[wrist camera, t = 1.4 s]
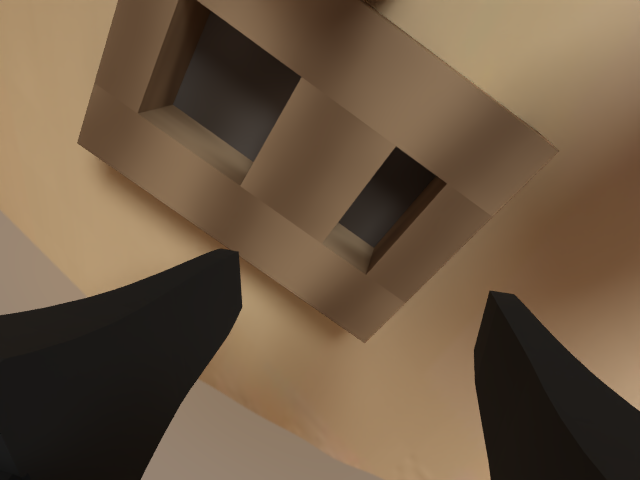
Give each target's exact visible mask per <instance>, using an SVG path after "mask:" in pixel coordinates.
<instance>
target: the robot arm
mask: <svg viewBox="0 0 640 480" xmlns="http://www.w3.org/2000/svg"><path fill="white" fill-rule="evenodd" d="M241 309H242V295H241V279H240V263H239V251H233V250H226V249H217V250H214V251H211V252H209V253H206V254H203V255H201V256H199V257H196V258H194V259H191V260H189V261H187V262H184V263H182V264H180V265H177V266H175V267H173V268H170V269H168V270H166V271H163V272H161V273H158V274H156V275H153V276H150V277H148V278H145V279H143V280H140V281H137V282H135V283H132V284H130V285H127V286H124V287H121V288H118V289H115V290H112V291H109V292H105V293H102V294H98V295H95V296H92V297H88V298H84V299H80V300H76V301H72V302H67V303H63V304H59V305H55V306H51V307H46V308H41V309H35V310H30V311H24V312H19V313H13V314H6V315H0V480H141V478H142V476H143V474H144V472H145V469H146V467H147V465H148V464H149V462H150V460H151V458H152V456H153V454H154V452H155V450H156V448H157V446H158V444H159V442H160V441H161V438H162V437H163V435H164V433H165V431H166V429H167V428H168V426H169V424H170V422H171V420H172V419H173V417H174V415H175V413H176V411H177V409H178V408H179V406H180V404H181V403H182V401H183V400H184V398H185V397H186V395H187V393H188V392H189V390H190V389H191V388H192V386H193V385H194V383H195V382H196V381H197V379H198V378H199V376H200V375H201V373H202V372H203V371H204V369H205V368H206V366H207V365H208V364H209V362H210V361H211V359H212V358H213V356H214V355H215V354H216V352H217V351H218V349H219V348H220V346H221V345H222V343H223V342H224V341H225V339H226V338H227V336H228V335H229V333H230V331H231V329H232V327H233V325H234V323H235V321H236V319H237V317H238V315H239V313H240V311H241ZM474 370H475V386H476V392H477V398H478V404H479V410H480V416H481V422H482V427H483V433H484V439H485V444H486V450H487V456H488V462H489V469H490V477H491V480H640V411H639V410H637V409H636V408H635V407H633V406H632V405H631V404H629V403H628V402H627V401H626V400H624V399H623V398H622V397H621V396H619V395H618V394H617V393H616V392H614V391H613V390H612V389H611V388H609V387H608V386H607V385H606V384H604V383H603V382H602V381H601V380H600V379H598V378H597V377H596V376H595V375H594V374H593V373H592V372H590V371H589V370H588V369H587V368H586V367H585V366H584V365H583V364H582V363H581V362H580V361H578V360H577V359H576V358H575V357H574V356H573V355H572V354H571V353H570V352H569V351H568V350H567V349H566V348H565V347H564V346H563V345H562V344H561V343H560V342H559V341H558V340H557V339H556V338H555V337H554V336H553V335H552V334H551V333H550V332H549V331H548V330H547V329H546V328H545V327H544V326H543V325H542V324H541V322H540V321H539V320H538V319H537V318H536V317H535V316H534V315H533V314H532V313H531V312H530V310H529V309H528V308H527V307H526V306H525V305H524V304H523V303H522V302H521V301H520V300H519V299H518V298H517V297H516V296H515V295H514V294H508V293H502V292H495V291H489V295H488V299H487V303H486V307H485V310H484V314H483V318H482V322H481V326H480V329H479V333H478V337H477V341H476V345H475V348H474Z"/></svg>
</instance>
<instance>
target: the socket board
mask: <svg viewBox="0 0 640 480" xmlns="http://www.w3.org/2000/svg"><path fill="white" fill-rule="evenodd" d="M77 143H78V144H79V145H81V146H82V147H83V148H85V149H86V150H88V151H89V152H91V153H92V154H93V155H95V156H96V157H98V158H99V159H101V160H102V161H104V162H105V163H106V164H108V165H109V166H111V167H112V168H114V169H115V170H116V171H118V172H119V173H121V174H122V175H124V176H125V177H127V178H128V179H129V180H131V181H132V182H134V183H135V184H137V185H138V186H139V187H141V188H142V189H144V190H145V191H147V192H148V193H150V194H151V195H152V196H154V197H155V198H157V199H158V200H160V201H161V202H162V203H164V204H165V205H167V206H168V207H170V208H171V209H173V210H174V211H175V212H177V213H178V214H180V215H181V216H183V217H184V218H185V219H187V220H188V221H190V222H191V223H193V224H194V225H196V226H197V227H198V228H200V229H201V230H203V231H204V232H206V233H207V234H209V235H210V236H211V237H213V238H214V239H216V240H217V241H219V242H220V243H221V244H223V245H224V246H226V247H227V248H229V249H230V250H233V251H239V256H240V257H242V258H243V259H244V260H246V261H247V262H249V263H250V264H252V265H253V266H255V267H256V268H257V269H259V270H260V271H262V272H263V273H265V274H266V275H267V276H269V277H270V278H272V279H273V280H275V281H276V282H278V283H279V284H280V285H282V286H283V287H285V288H286V289H288V290H289V291H290V292H292V293H293V294H295V295H296V296H298V297H299V298H301V299H302V300H303V301H305V302H306V303H308V304H309V305H311V306H312V307H313V308H315V309H316V310H318V311H319V312H321V313H322V314H324V315H325V316H326V317H328V318H329V319H331V320H332V321H334V322H335V323H336V324H338V325H339V326H341V327H342V328H344V329H345V330H347V331H348V332H349V333H351V334H352V335H354V336H355V337H357V338H358V339H359V340H361V341H362V342H364V343H365V342H366V341H367V340H368V339H369V338H370V337H371V336H372V335H373V334H374V333H376V332H377V331H378V330H379V329H380V328H381V327H382V326H383V325H384V324H385V323H386V322H387V321H388V320H389V319H390V318H391V317H392V316H393V315H394V314H395V313H396V312H397V311H398V310H399V309H400V308H401V307H402V306H403V305H404V304H405V303H406V302H407V301H408V300H409V299H410V298H411V297H412V296H413V295H414V294H415V293H416V292H417V291H418V290H419V289H420V288H421V287H422V286H423V285H424V284H425V283H426V282H427V281H428V280H429V279H430V278H431V277H432V276H433V275H434V274H435V273H436V272H437V271H438V270H439V269H440V268H441V267H442V266H443V265H444V264H445V263H446V262H447V261H448V260H449V259H450V258H451V257H452V256H453V255H454V254H455V253H456V252H457V251H458V250H459V249H460V248H461V247H462V246H464V245H465V244H466V243H467V242H468V241H469V240H470V239H471V238H472V237H473V236H474V235H475V234H476V233H477V232H478V231H479V230H480V229H481V228H482V227H483V226H484V225H485V224H486V223H487V222H488V221H489V220H490V219H491V218H492V217H493V216H494V215H495V214H496V213H497V212H498V211H499V210H500V209H501V208H502V207H503V206H504V205H505V204H506V203H507V202H508V201H509V200H510V199H511V198H512V197H513V196H514V195H515V194H516V193H517V192H518V191H519V190H520V189H521V188H522V187H523V186H524V185H525V184H526V183H527V182H528V181H529V180H530V179H531V178H532V177H533V176H534V175H535V174H536V173H537V172H538V171H539V170H540V169H541V168H542V167H543V166H544V165H545V164H546V163H547V162H548V161H549V160H550V159H551V158H553V157H554V156H555V155H556V154H557V153H558V152H559V150H558V149H557V148H555V147H554V146H553V145H552V144H551V143H550V142H549V141H548V140H546V139H545V138H544V137H543V136H542V135H541V134H540V133H538V132H537V131H536V130H534V129H533V128H532V127H530V126H529V125H528V124H526V123H525V122H524V121H522V120H521V119H520V118H518V117H517V116H516V115H514V114H513V113H512V112H510V111H509V110H508V109H506V108H505V107H504V106H502V105H501V104H500V103H498V102H497V101H496V100H494V99H493V98H492V97H490V96H489V95H488V94H486V93H485V92H484V91H482V90H481V89H480V88H478V87H477V86H476V85H474V84H473V83H472V82H470V81H469V80H468V79H467V78H465V77H464V76H463V75H461V74H460V73H459V72H457V71H456V70H455V69H453V68H452V67H451V66H449V65H448V64H447V63H445V62H444V61H443V60H441V59H440V58H439V57H437V56H436V55H435V54H433V53H432V52H431V51H429V50H428V49H427V48H425V47H424V46H423V45H421V44H420V43H419V42H417V41H416V40H415V39H413V38H412V37H411V36H409V35H408V34H407V33H405V32H404V31H403V30H401V29H400V28H399V27H397V26H396V25H395V24H393V23H392V22H391V21H389V20H388V19H387V18H385V17H384V16H383V15H381V14H380V13H379V12H377V11H376V10H375V9H373V8H372V7H371V6H369V5H368V4H367V3H365V2H364V1H363V0H118V3H117V7H116V10H115V14H114V17H113V20H112V24H111V27H110V31H109V34H108V38H107V41H106V45H105V48H104V52H103V55H102V59H101V62H100V66H99V69H98V73H97V76H96V80H95V83H94V86H93V90H92V93H91V97H90V100H89V104H88V107H87V111H86V114H85V118H84V121H83V125H82V128H81V132H80V135H79V139H78V142H77Z"/></svg>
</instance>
